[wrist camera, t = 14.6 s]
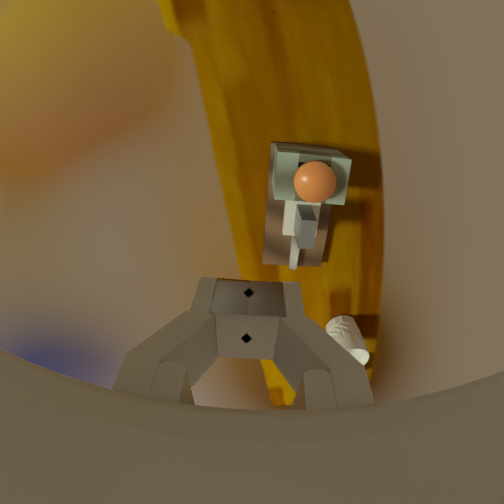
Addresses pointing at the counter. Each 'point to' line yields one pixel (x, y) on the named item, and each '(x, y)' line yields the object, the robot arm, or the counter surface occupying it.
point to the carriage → (301, 222)
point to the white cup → (348, 337)
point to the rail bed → (282, 188)
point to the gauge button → (314, 181)
